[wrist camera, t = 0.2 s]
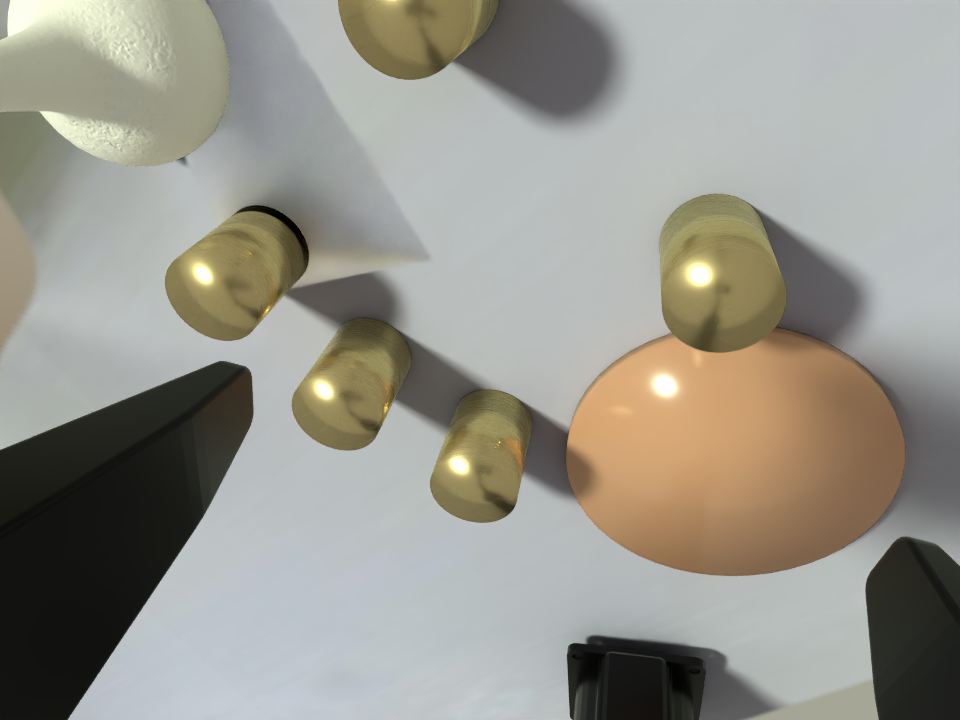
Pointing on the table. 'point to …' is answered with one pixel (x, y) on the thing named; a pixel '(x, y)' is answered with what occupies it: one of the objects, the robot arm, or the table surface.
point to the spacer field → (384, 352)
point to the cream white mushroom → (118, 74)
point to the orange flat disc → (735, 453)
